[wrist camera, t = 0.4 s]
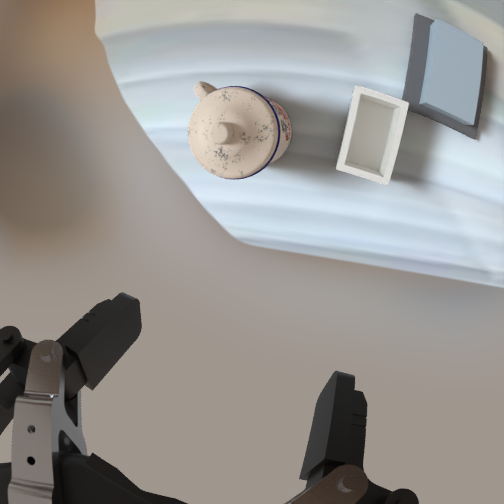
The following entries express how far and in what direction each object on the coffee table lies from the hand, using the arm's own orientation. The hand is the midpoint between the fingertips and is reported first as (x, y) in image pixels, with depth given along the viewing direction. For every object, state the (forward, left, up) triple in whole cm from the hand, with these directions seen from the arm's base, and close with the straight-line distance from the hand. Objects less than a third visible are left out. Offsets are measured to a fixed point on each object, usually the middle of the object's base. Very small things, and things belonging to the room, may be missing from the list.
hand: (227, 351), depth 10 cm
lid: (-20, +13, -26) cm, 35 cm away
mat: (-20, +13, -27) cm, 36 cm away
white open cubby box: (-9, +5, -27) cm, 29 cm away
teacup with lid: (-7, -9, -27) cm, 29 cm away
